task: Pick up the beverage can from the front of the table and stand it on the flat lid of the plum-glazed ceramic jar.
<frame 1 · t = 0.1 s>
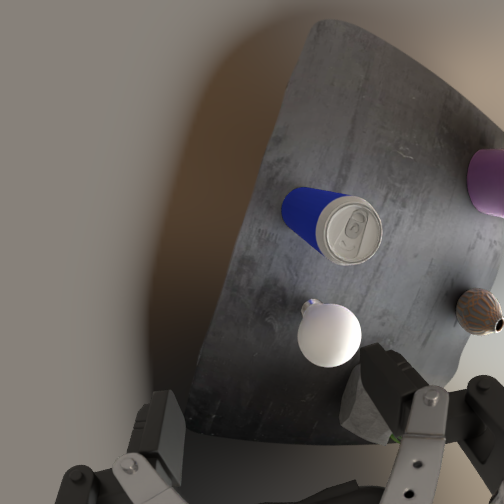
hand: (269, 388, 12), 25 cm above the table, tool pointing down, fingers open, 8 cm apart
jar: (487, 181, 38), on the table
potted plant: (375, 378, 44), on the table
beverage can: (302, 209, 36), on the table
light bulb: (310, 306, 39), on the table
vase: (464, 303, 42), on the table
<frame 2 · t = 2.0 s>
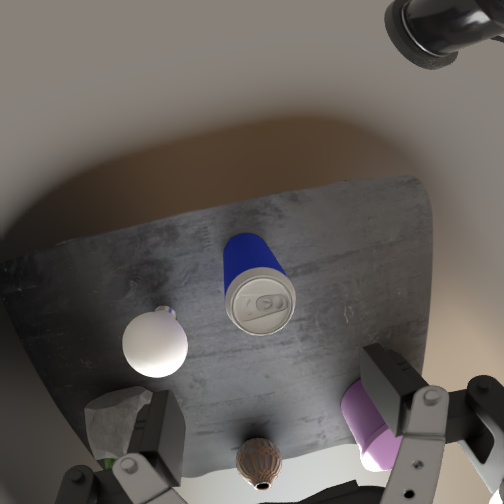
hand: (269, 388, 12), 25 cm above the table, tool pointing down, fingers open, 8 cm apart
jar: (369, 397, 44), on the table
potted plant: (142, 411, 41), on the table
beverage can: (245, 253, 37), on the table
light bulb: (166, 312, 38), on the table
vase: (256, 444, 45), on the table
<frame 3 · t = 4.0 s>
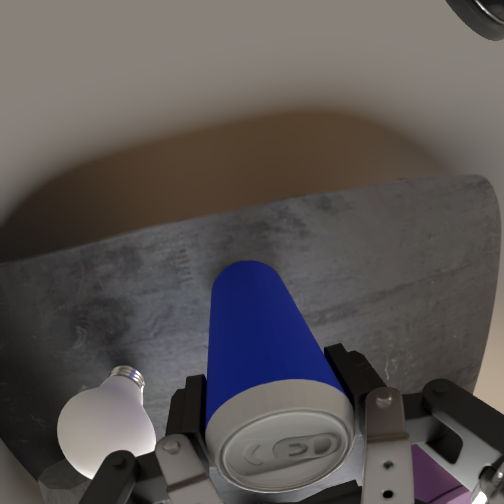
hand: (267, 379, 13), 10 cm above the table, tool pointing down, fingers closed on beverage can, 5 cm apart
jar: (401, 457, 30), on the table
potted plant: (113, 477, 27), on the table
beverage can: (247, 291, 23), on the table, touching gripper
light bulb: (130, 371, 24), on the table
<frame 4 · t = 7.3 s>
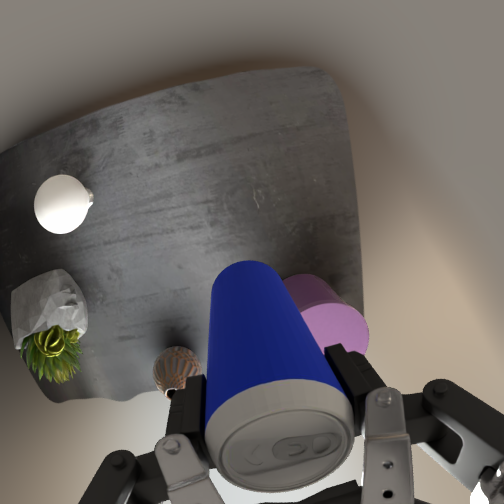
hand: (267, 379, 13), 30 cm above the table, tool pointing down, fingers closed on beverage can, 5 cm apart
jar: (300, 307, 45), on the table
potted plant: (68, 311, 42), on the table
beverage can: (247, 291, 23), point 19 cm above the table, touching gripper
light bulb: (87, 197, 39), on the table
vase: (180, 358, 46), on the table
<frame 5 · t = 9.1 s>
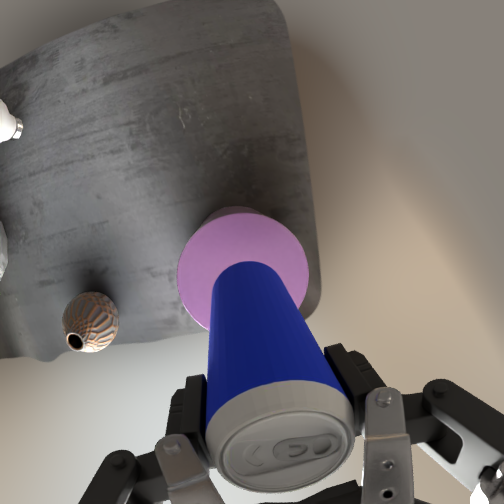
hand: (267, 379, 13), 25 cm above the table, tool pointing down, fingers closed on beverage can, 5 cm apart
jar: (236, 248, 38), on the table
beverage can: (247, 292, 23), point 15 cm above the table, touching gripper
light bulb: (19, 129, 31), on the table
vase: (100, 309, 38), on the table
when the fingers open (22 cm above the table, at t = 10.4 s): beverage can stays where it is, resting on jar.
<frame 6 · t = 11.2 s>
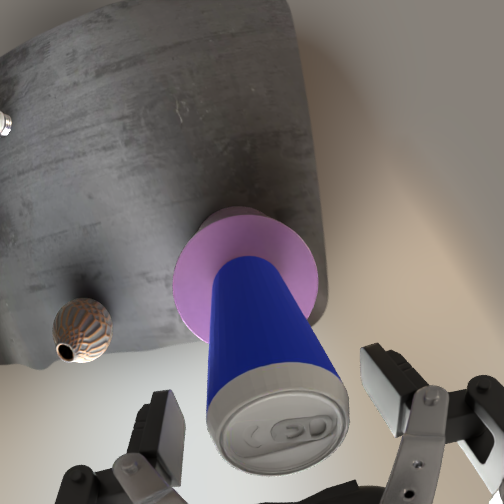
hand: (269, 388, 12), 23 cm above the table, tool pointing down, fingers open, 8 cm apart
jar: (238, 252, 35), on the table
beverage can: (247, 286, 24), point 11 cm above the table, touching jar
light bulb: (8, 126, 29), on the table
vase: (93, 316, 35), on the table
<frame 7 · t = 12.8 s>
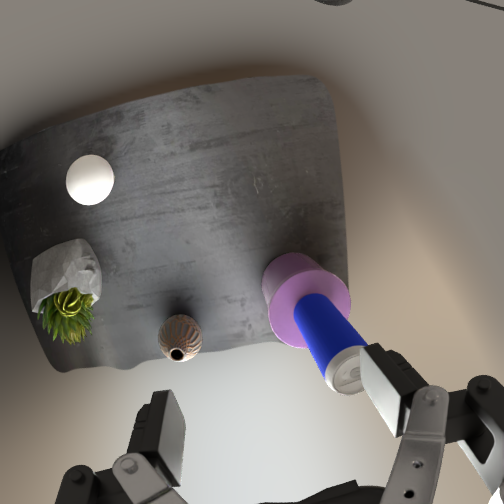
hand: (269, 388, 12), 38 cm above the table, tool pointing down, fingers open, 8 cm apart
jar: (292, 282, 52), on the table
potted plant: (83, 281, 48), on the table
beverage can: (311, 309, 41), point 11 cm above the table, touching jar
light bulb: (108, 178, 45), on the table
vase: (182, 327, 52), on the table
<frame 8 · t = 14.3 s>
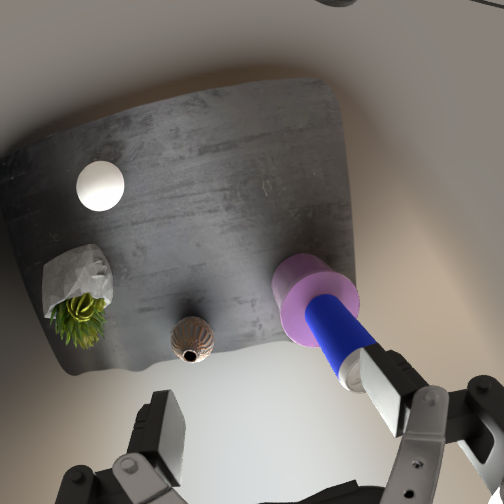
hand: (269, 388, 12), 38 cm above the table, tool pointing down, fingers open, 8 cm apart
jar: (301, 283, 52), on the table
potted plant: (94, 285, 49), on the table
beverage can: (321, 309, 41), point 11 cm above the table, touching jar
light bulb: (118, 183, 46), on the table
vase: (194, 328, 53), on the table
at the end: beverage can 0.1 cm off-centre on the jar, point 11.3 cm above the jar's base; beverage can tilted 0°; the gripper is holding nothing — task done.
